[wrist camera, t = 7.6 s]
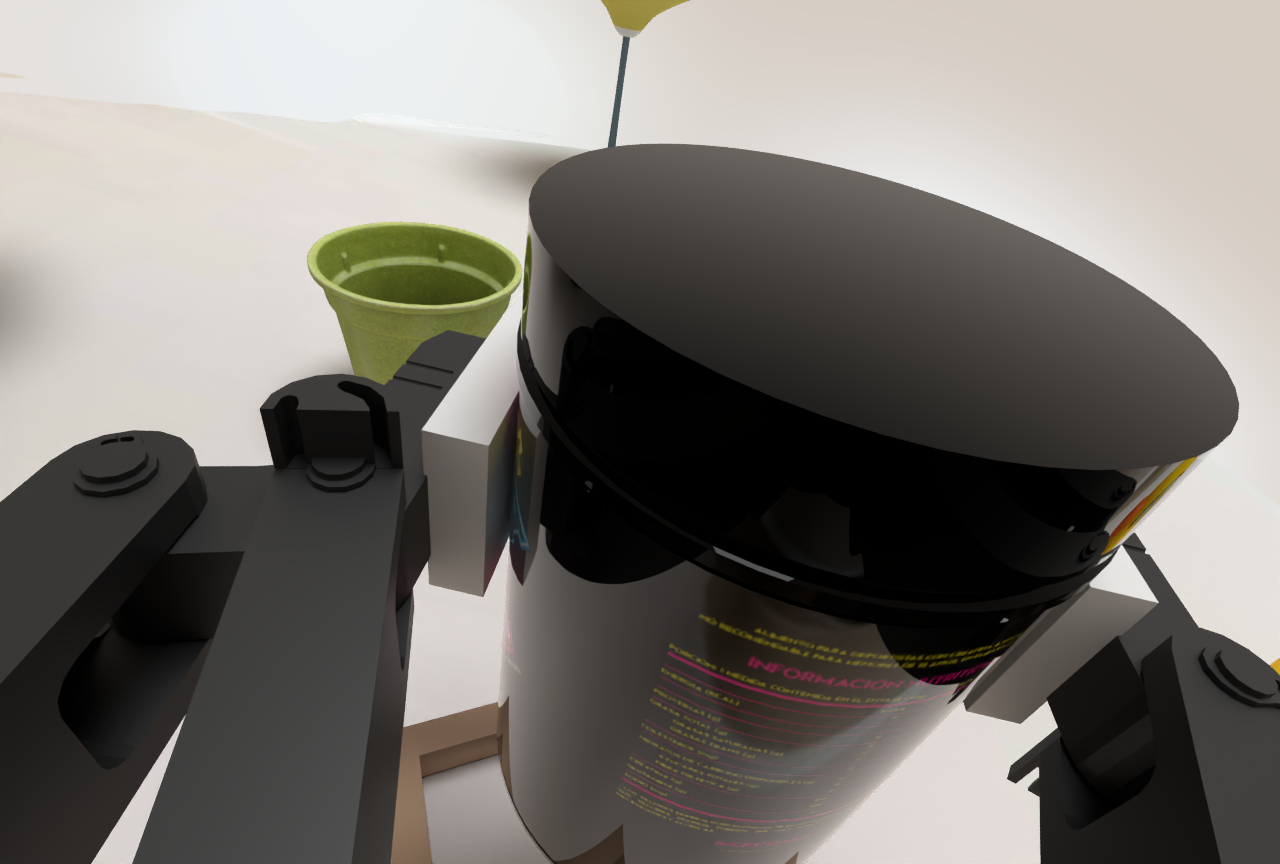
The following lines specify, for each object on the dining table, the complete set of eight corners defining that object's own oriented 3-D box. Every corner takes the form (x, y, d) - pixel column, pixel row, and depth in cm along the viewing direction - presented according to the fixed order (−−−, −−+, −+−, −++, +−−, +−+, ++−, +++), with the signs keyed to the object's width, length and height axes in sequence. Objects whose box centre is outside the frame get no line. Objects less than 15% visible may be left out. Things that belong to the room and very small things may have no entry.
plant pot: (400, 345, 39) (390, 206, 33) (540, 391, 37) (552, 254, 32) (290, 426, 31) (255, 265, 26) (459, 487, 30) (458, 330, 25)
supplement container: (728, 572, 16) (897, 160, 10) (892, 852, 12) (1407, 419, 5) (465, 628, 14) (466, 121, 7) (541, 1020, 9) (725, 560, 3)
